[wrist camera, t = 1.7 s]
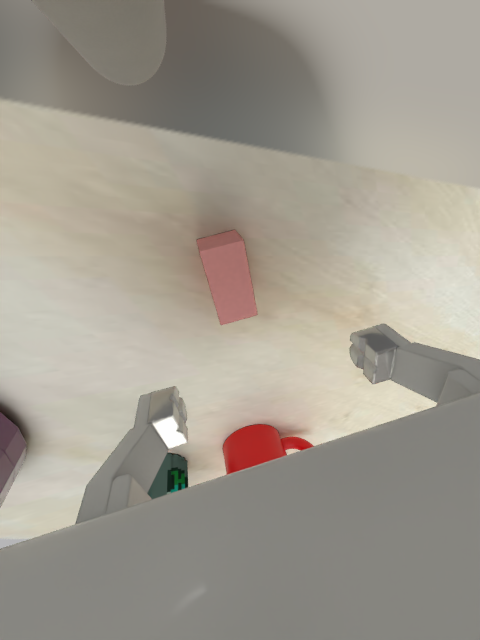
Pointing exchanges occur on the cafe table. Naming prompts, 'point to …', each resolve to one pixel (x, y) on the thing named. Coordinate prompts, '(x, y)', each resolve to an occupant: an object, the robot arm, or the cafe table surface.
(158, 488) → the can
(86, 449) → the cafe table surface
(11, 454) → the bowl
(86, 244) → the cafe table surface
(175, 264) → the cafe table surface
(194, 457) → the cafe table surface
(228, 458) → the mug
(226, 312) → the eraser
